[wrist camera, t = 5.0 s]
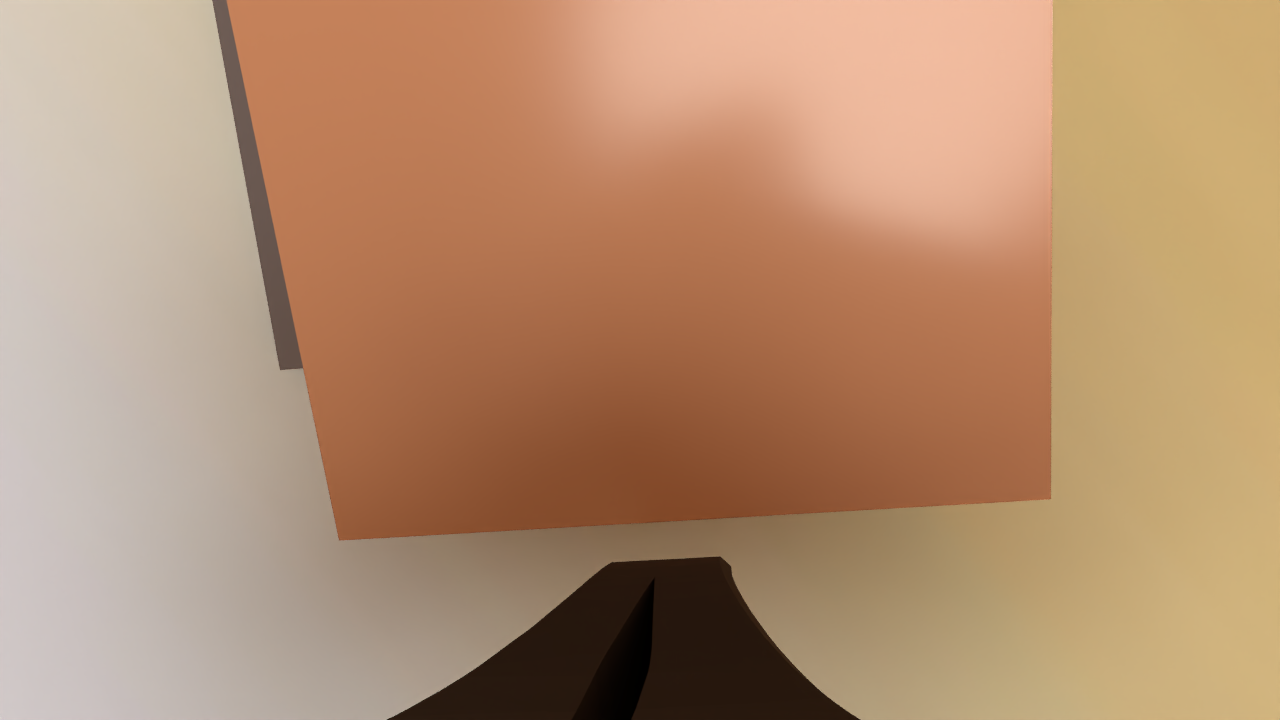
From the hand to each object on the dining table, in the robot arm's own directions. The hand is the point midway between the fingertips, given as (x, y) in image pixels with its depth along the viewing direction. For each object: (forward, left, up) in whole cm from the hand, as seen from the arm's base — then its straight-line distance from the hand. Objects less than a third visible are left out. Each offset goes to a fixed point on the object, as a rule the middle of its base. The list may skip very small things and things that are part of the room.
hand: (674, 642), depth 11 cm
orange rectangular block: (+1, 0, -4) cm, 4 cm away
